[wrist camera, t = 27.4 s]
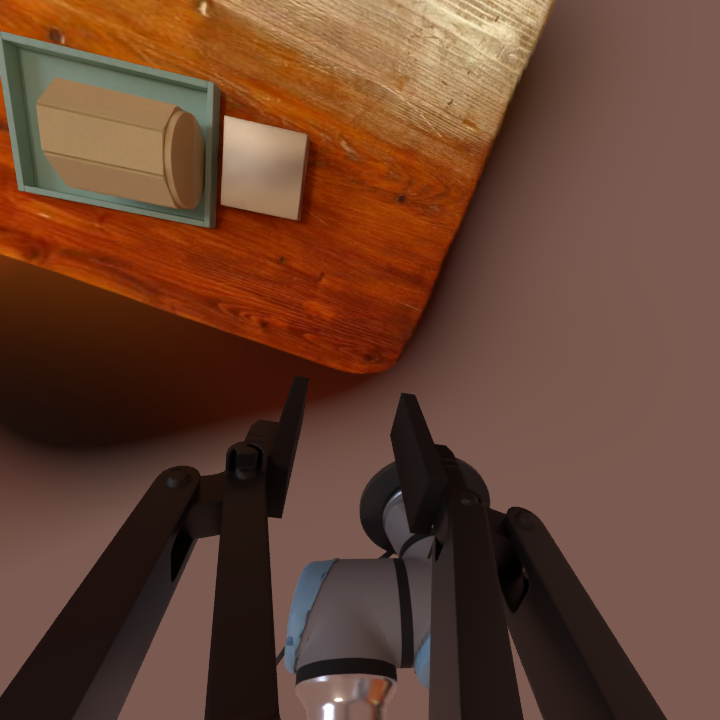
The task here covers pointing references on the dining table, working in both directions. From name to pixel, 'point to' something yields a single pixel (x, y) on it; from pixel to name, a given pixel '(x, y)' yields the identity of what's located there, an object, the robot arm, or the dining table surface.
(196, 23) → the dining table surface
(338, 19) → the dining table surface
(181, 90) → the tray
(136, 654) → the robot arm
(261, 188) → the block
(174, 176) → the cup
